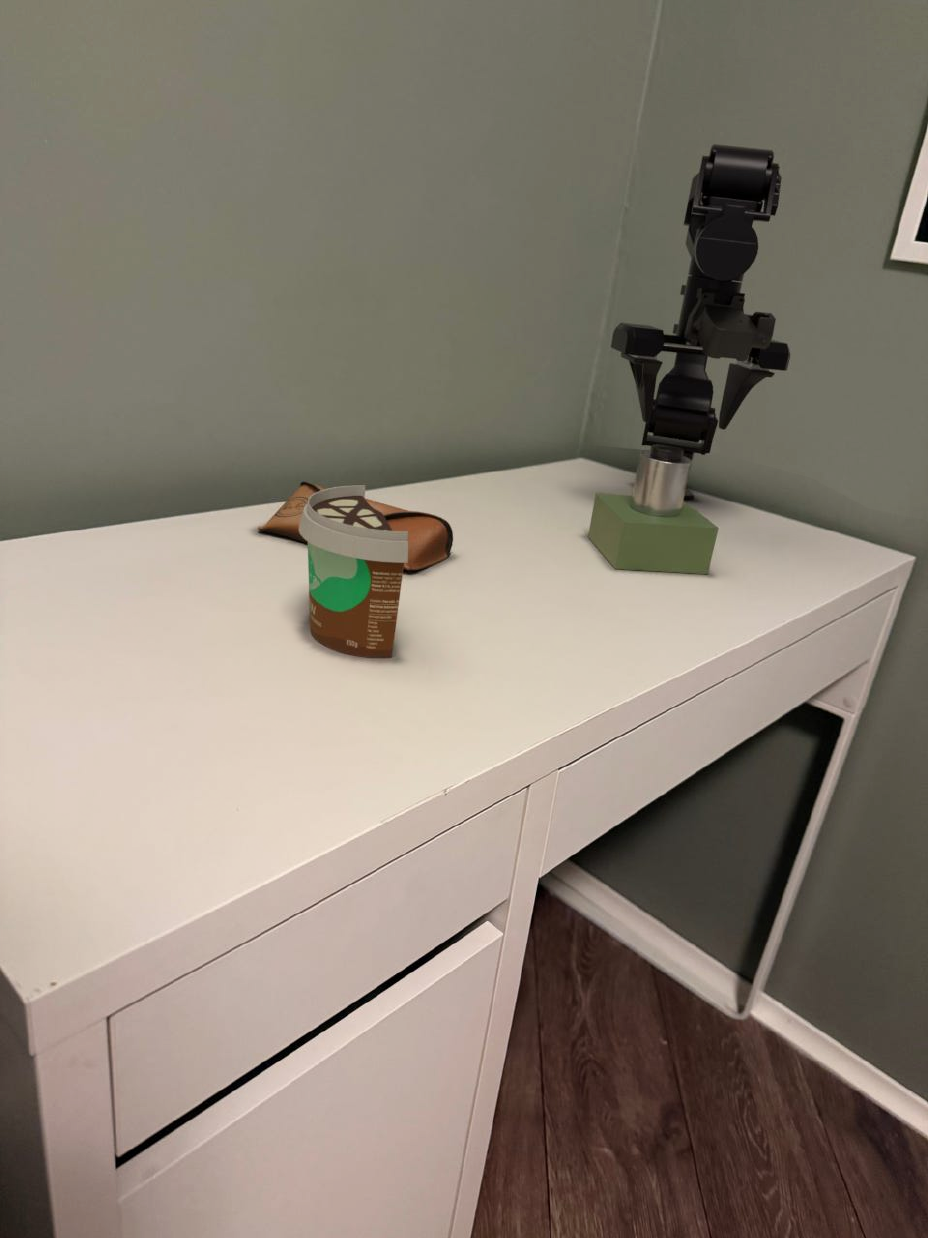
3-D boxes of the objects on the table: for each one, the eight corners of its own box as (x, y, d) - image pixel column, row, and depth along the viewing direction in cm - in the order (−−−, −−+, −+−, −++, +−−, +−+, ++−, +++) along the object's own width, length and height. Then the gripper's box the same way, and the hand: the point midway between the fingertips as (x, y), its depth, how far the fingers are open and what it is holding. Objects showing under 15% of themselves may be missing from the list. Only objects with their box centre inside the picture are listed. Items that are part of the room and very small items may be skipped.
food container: (281, 602, 72) (285, 482, 68) (355, 599, 74) (363, 483, 70) (312, 672, 62) (320, 534, 58) (397, 666, 64) (410, 534, 60)
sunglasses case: (250, 527, 86) (273, 463, 87) (285, 547, 93) (306, 487, 94) (414, 572, 80) (437, 503, 81) (439, 590, 87) (460, 526, 87)
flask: (623, 500, 95) (635, 440, 92) (669, 504, 96) (682, 444, 93) (639, 515, 90) (652, 452, 87) (687, 518, 91) (701, 456, 88)
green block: (587, 536, 98) (595, 492, 96) (672, 542, 100) (682, 499, 98) (614, 569, 89) (624, 521, 87) (707, 574, 91) (719, 527, 89)
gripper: (658, 273, 86) (628, 434, 92) (834, 294, 89) (793, 448, 95) (622, 267, 96) (597, 413, 102) (781, 286, 99) (748, 426, 105)
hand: (684, 425), depth 101 cm, fingers open, 9 cm apart
